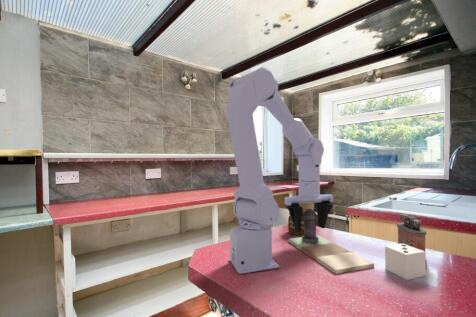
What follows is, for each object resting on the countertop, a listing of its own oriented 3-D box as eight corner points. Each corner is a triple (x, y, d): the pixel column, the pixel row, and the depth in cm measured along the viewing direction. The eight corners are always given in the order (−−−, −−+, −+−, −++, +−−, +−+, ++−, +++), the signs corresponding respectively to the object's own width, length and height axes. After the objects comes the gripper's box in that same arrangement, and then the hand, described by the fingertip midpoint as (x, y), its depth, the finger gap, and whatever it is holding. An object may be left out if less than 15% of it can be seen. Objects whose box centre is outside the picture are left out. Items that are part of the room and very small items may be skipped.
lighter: (431, 265, 55) (430, 220, 55) (415, 265, 55) (415, 221, 55) (407, 251, 63) (406, 212, 63) (393, 251, 63) (393, 212, 63)
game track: (335, 273, 52) (335, 270, 52) (288, 241, 72) (288, 238, 72) (374, 267, 55) (374, 263, 55) (318, 237, 75) (317, 235, 75)
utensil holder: (288, 229, 84) (287, 194, 84) (307, 230, 83) (306, 194, 83) (288, 235, 78) (287, 197, 78) (308, 236, 77) (308, 197, 77)
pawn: (299, 239, 72) (298, 208, 72) (312, 237, 73) (312, 207, 73) (307, 244, 68) (306, 211, 68) (321, 242, 69) (321, 210, 69)
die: (406, 279, 49) (406, 254, 49) (385, 269, 54) (385, 245, 54) (425, 275, 51) (425, 251, 51) (403, 265, 55) (402, 243, 55)
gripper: (293, 183, 64) (293, 235, 64) (340, 180, 68) (340, 230, 69) (280, 180, 71) (281, 228, 71) (324, 178, 75) (325, 223, 75)
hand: (309, 228), depth 70 cm, fingers open, 7 cm apart
